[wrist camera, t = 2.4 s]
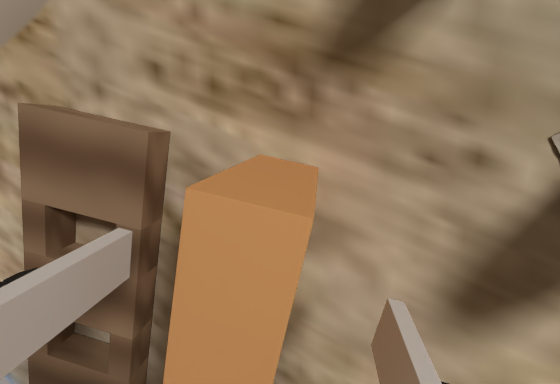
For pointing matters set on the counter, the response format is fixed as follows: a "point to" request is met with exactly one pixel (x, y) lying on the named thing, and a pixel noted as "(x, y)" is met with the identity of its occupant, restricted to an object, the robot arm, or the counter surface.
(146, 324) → the rail
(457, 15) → the counter surface
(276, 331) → the orange block
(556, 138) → the condiment
